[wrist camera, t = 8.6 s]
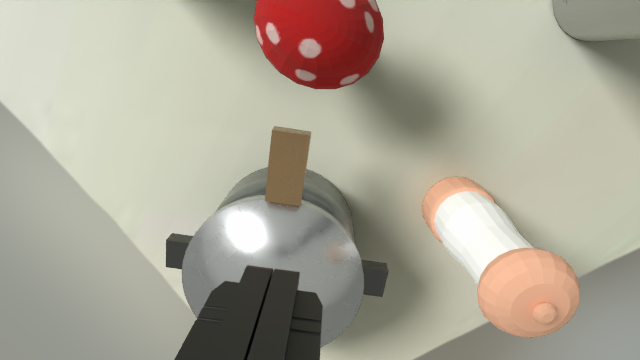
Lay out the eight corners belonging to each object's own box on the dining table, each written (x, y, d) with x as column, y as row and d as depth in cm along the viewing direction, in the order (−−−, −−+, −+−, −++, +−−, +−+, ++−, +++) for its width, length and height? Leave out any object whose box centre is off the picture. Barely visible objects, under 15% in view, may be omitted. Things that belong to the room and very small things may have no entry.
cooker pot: (388, 180, 41) (405, 216, 32) (358, 312, 47) (366, 375, 38) (199, 152, 41) (160, 180, 31) (193, 289, 47) (159, 348, 37)
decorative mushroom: (260, 56, 37) (219, 55, 23) (292, -30, 35) (267, -91, 21) (347, 96, 38) (359, 119, 24) (384, 15, 36) (422, -13, 22)
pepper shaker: (431, 242, 44) (505, 372, 26) (414, 189, 42) (481, 290, 24) (491, 222, 43) (612, 343, 25) (476, 167, 41) (597, 255, 23)
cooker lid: (392, 143, 30) (399, 151, 27) (345, 362, 37) (347, 384, 35) (192, 113, 29) (179, 118, 27) (184, 340, 37) (173, 361, 34)
